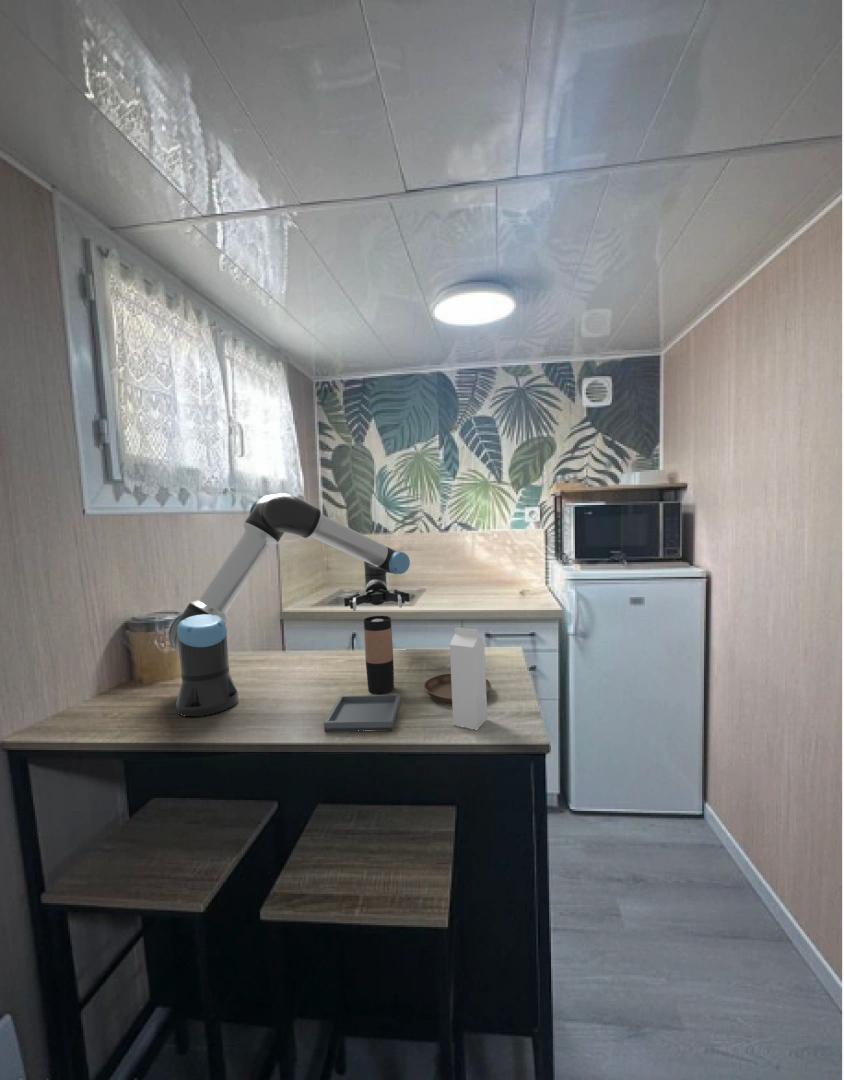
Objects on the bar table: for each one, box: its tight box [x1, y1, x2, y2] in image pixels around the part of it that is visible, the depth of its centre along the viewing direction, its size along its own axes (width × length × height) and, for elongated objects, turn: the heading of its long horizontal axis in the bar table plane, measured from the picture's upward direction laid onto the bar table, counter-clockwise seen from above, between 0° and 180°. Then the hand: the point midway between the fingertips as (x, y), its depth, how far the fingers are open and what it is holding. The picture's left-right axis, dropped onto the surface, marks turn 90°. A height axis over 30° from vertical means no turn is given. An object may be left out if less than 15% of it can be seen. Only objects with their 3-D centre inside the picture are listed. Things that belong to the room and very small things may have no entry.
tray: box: [323, 693, 401, 733], centre depth 117 cm, size 16×16×2 cm
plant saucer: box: [423, 672, 492, 706], centre depth 128 cm, size 18×18×3 cm
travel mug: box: [363, 615, 395, 695], centre depth 133 cm, size 8×8×20 cm
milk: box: [449, 627, 488, 730], centre depth 111 cm, size 6×6×22 cm
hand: (377, 604), depth 142 cm, fingers open, 13 cm apart
